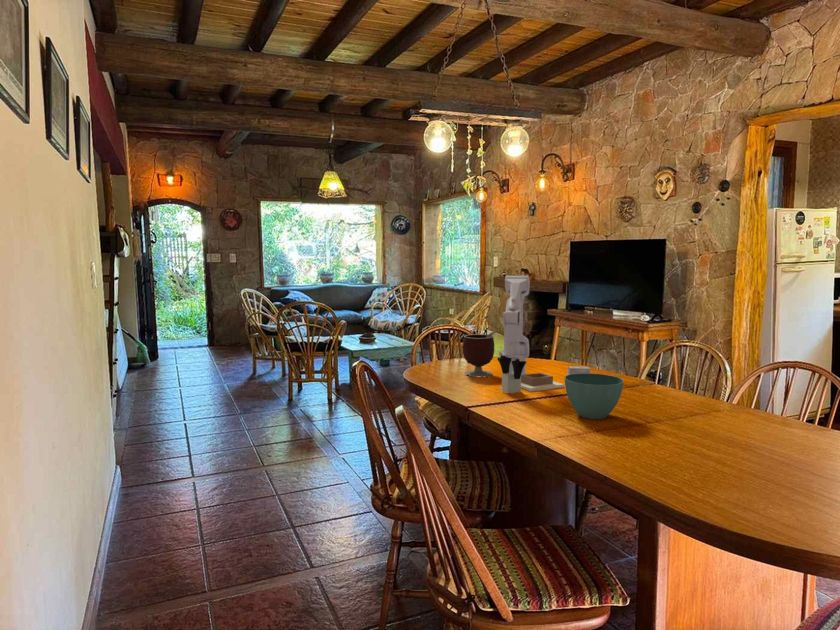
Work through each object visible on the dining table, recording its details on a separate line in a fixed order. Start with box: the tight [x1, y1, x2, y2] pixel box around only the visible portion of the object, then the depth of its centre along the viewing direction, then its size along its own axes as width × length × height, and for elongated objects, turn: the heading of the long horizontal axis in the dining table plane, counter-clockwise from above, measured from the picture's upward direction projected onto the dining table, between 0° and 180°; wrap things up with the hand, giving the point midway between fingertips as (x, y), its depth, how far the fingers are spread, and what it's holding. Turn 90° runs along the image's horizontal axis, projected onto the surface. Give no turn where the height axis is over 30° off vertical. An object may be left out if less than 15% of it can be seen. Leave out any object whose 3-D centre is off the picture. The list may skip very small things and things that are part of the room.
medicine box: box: [567, 366, 591, 375], centre depth 223 cm, size 8×4×9 cm, turn 84°
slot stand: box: [521, 372, 565, 392], centre depth 229 cm, size 14×16×4 cm
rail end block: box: [501, 373, 522, 394], centre depth 219 cm, size 4×6×7 cm, turn 116°
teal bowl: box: [564, 372, 625, 420], centre depth 184 cm, size 18×18×12 cm
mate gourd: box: [462, 330, 499, 378], centre depth 252 cm, size 16×14×20 cm
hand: (511, 377), depth 219 cm, fingers open, 7 cm apart
